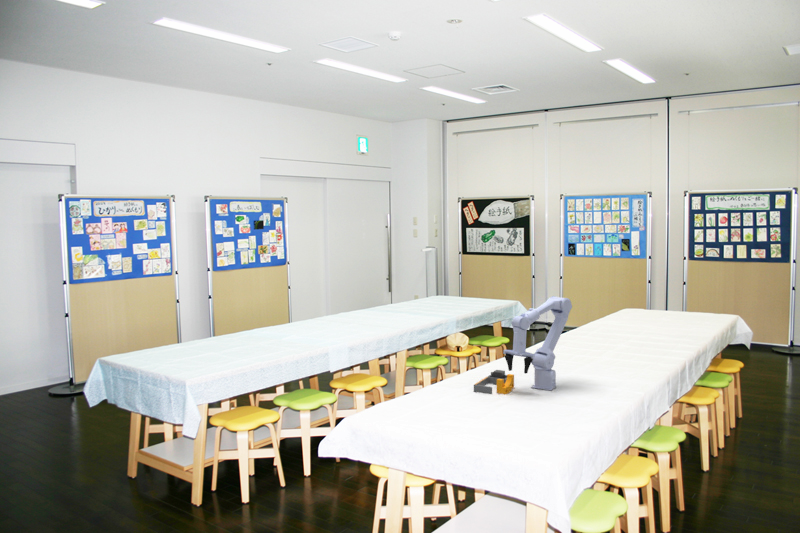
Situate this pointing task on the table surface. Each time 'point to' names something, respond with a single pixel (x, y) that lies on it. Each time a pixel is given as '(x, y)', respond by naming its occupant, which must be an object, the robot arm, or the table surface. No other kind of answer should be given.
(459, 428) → the table surface
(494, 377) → the grey piece
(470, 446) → the table surface
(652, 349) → the table surface
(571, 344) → the table surface
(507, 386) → the pipe clamp
